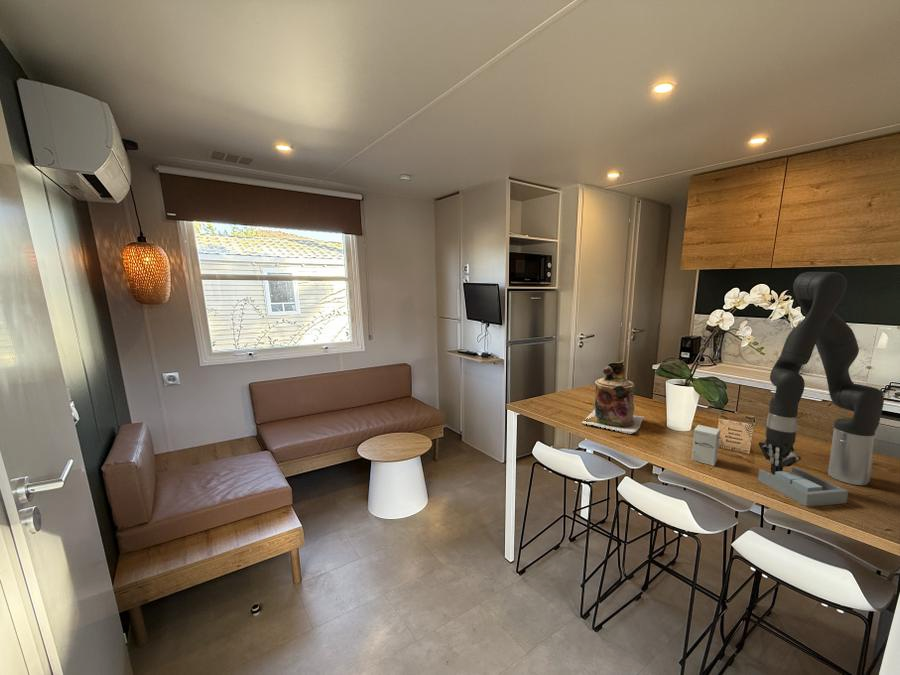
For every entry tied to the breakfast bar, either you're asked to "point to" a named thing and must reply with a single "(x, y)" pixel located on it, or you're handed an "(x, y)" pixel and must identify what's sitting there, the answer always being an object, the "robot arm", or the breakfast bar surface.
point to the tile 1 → (787, 476)
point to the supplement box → (705, 444)
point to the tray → (813, 498)
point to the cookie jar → (615, 401)
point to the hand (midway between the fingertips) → (775, 474)
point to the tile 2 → (806, 485)
